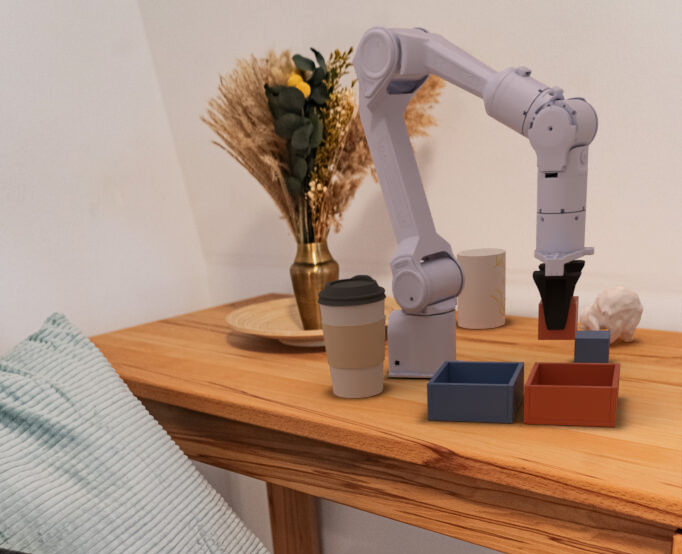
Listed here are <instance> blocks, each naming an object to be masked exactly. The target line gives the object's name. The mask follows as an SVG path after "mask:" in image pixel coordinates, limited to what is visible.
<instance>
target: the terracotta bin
mask: <svg viewBox="0 0 682 554" xmlns="http://www.w3.org/2000/svg"><path fill="white" fill-rule="evenodd" d="M620 374H621V362H616V363H615V362H609V363H574V362H555V361H553V362H552V361H550V362H549V361H547V362H546V361H545V362H543V361H535V362H534V363H533V366H532V368H531V371H530V373H529V375H528V377H527V379H526V382H525V383H524V397H523V424H525V425H547V426H550V425H551V426H574V427H575V426H577V427H578V426H579V427H606V428H614V427H616V419H617V411H618V402H619V392H620V378H621V377H620V376H621V375H620Z"/></svg>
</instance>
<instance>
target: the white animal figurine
mask: <svg viewBox="0 0 682 554" xmlns="http://www.w3.org/2000/svg"><path fill="white" fill-rule="evenodd" d="M643 312H644V305H643V304H642V303H641V298H640V297H639V294H638V293H637V292H636V291H635V290H632V289H631V288H629V287H627V286H625V285H617V286H609V287H606V288H605V289H604V290H603V291H601V293H599V294H598V295H597V296H596V298H595V300H594V301H593V302H592V303H591V304H590V305H589V304H588V306H586V307H584V308H583V310H582V311H581V312H580V313H579V317H578V321H579V324H580V325H579V326H578V327H579V329H580V330H581V331H611V333H610V345H612V344H613V343H614V342H615V341H616V340H617V339H619V337H620V338H621V340H622V341H623V342H625V343H631V342H633V340H634V336H635V334H636V329H637V327H638V326H639V325H640V322H641V320H642V314H643Z"/></svg>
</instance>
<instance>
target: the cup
mask: <svg viewBox="0 0 682 554" xmlns="http://www.w3.org/2000/svg"><path fill="white" fill-rule="evenodd" d="M506 254H507V253H506V249H503V248H487V247H485V248H473V249H466V250H461V251H458V252H457V253H456V259H457V260H458V261H459V263H460V264H461V265H462V267H463V270H464V273H465V286H464V289H463V291H462V292H461V294H460V295H459V296H458V297H457V326H458V327H460V328H463V329H470V330H487V329H493V328H498V327H501V326H504V325H506V282H507V281H506V279H507V278H506V277H507V276H506V275H507V274H506V273H507V272H506V270H507V269H506V266H507V265H506V262H507V260H506V259H507V258H506V257H507V255H506Z"/></svg>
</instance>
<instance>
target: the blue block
mask: <svg viewBox="0 0 682 554" xmlns="http://www.w3.org/2000/svg"><path fill="white" fill-rule="evenodd" d="M610 333H611V331H608V330H601V331H582V330H577V334H576V337H575V340H574V347H573V349H574V350H573V363H610V349H611V348H610V347H611V344H610Z"/></svg>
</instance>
